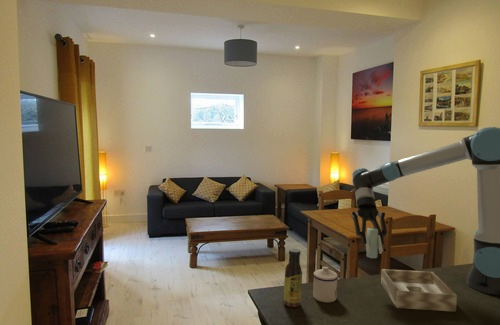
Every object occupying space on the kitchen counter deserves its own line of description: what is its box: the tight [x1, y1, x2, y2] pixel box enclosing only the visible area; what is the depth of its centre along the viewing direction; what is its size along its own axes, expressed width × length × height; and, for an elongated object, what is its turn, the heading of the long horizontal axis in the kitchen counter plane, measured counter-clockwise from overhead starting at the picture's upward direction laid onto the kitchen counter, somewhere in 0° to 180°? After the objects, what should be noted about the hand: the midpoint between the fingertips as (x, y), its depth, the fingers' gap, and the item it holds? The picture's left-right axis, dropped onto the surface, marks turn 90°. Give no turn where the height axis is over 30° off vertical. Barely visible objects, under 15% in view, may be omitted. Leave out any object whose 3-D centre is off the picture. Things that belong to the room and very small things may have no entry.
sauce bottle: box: [283, 248, 303, 308], centre depth 123 cm, size 6×6×20 cm
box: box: [380, 268, 458, 312], centre depth 130 cm, size 20×20×6 cm
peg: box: [366, 227, 379, 259], centre depth 134 cm, size 4×4×11 cm
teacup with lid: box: [312, 266, 339, 304], centre depth 130 cm, size 12×9×12 cm
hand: (374, 251), depth 130 cm, fingers closed on peg, 4 cm apart
